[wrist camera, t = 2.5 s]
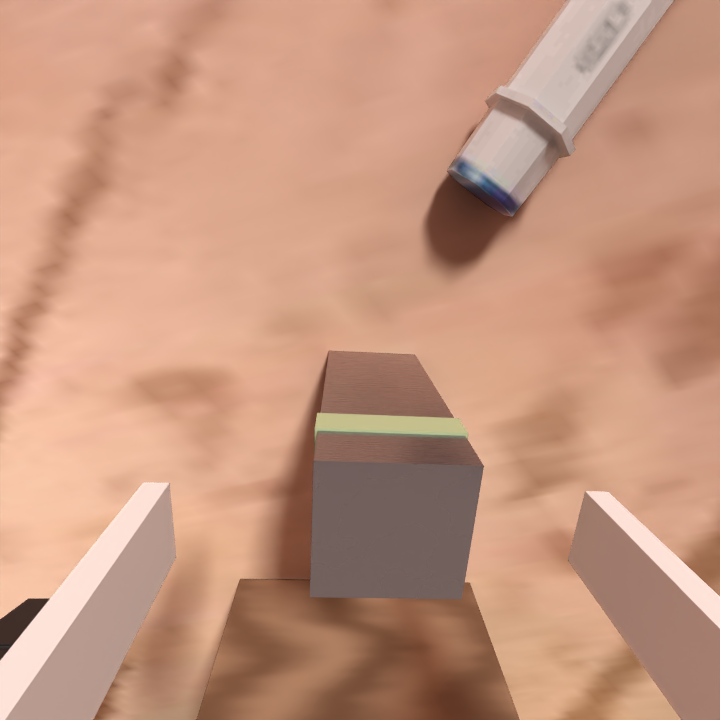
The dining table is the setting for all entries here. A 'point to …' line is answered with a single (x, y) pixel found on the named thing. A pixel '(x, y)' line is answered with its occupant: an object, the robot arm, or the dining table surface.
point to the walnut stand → (353, 659)
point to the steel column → (389, 484)
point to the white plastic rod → (551, 97)
